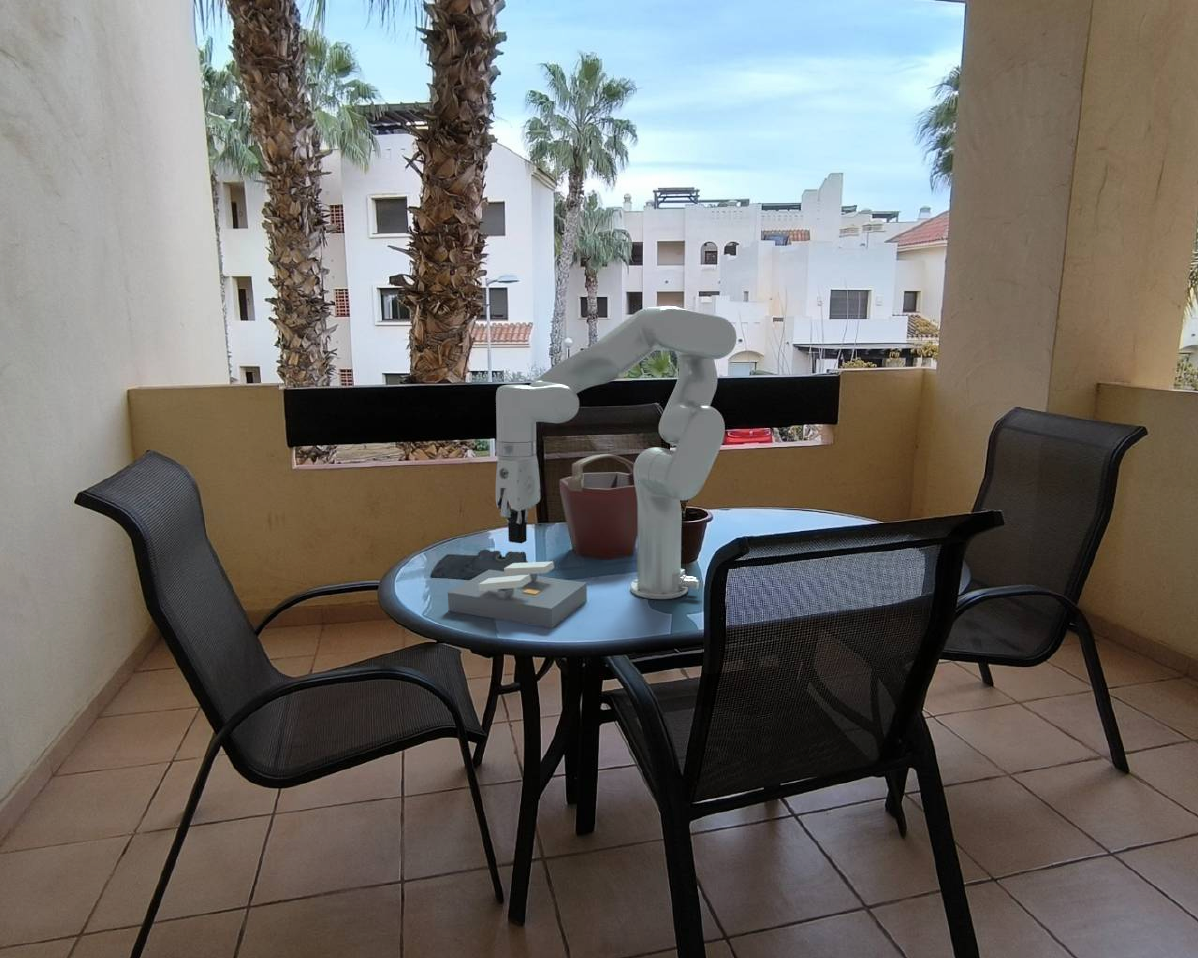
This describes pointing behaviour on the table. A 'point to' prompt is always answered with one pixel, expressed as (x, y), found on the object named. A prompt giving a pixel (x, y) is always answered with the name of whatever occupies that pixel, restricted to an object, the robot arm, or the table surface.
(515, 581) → the front rocker
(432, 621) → the table surface
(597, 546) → the bucket
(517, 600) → the switch box
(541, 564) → the back rocker
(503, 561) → the dark slate chunk
